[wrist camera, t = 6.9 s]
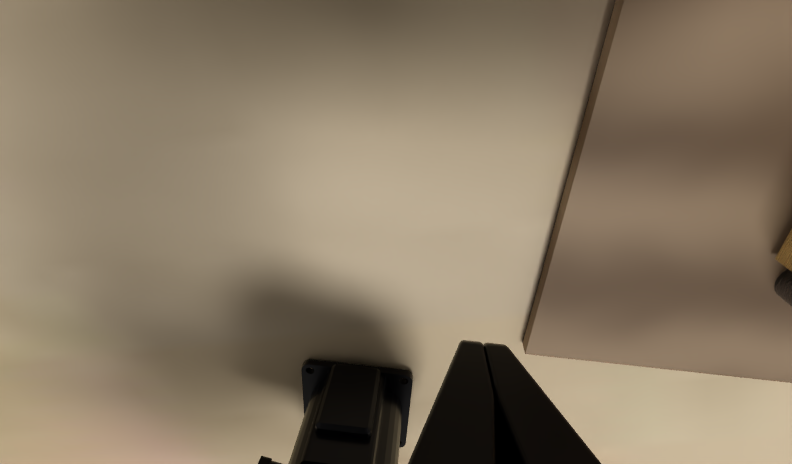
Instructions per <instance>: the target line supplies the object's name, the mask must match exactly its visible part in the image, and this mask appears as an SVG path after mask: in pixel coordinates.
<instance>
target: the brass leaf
mask: <svg viewBox="0 0 792 464" xmlns="http://www.w3.org/2000/svg"><path fill="white" fill-rule="evenodd" d="M775 260H777V261H778V262H779V263H781V264H782V265H783V266H785V267H786V268H788V269H789V270H790V271H792V229H791V231H790V233H789V234H788V236H787V238H786V240H785V242H784V244H783V245H782V247H781V249H780V251H779V253H778V254H777V256H776V258H775Z"/></svg>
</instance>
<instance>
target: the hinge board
mask: <svg viewBox="0 0 792 464" xmlns="http://www.w3.org/2000/svg"><path fill="white" fill-rule="evenodd" d="M791 229H792V0H616V1H615V4H614V8H613V12H612V16H611V19H610V23H609V27H608V30H607V34H606V38H605V41H604V45H603V49H602V52H601V56H600V60H599V63H598V67H597V71H596V75H595V78H594V82H593V86H592V89H591V93H590V97H589V100H588V104H587V108H586V111H585V115H584V119H583V122H582V126H581V130H580V134H579V137H578V141H577V145H576V148H575V152H574V156H573V159H572V163H571V167H570V170H569V174H568V178H567V181H566V185H565V189H564V193H563V196H562V200H561V204H560V207H559V211H558V215H557V218H556V222H555V226H554V229H553V233H552V237H551V240H550V244H549V248H548V251H547V255H546V259H545V263H544V266H543V270H542V274H541V277H540V281H539V285H538V288H537V292H536V296H535V299H534V303H533V307H532V310H531V314H530V318H529V322H528V325H527V329H526V333H525V336H524V340H523V347H524V351H525V354H531V355H540V356H550V357H559V358H568V359H577V360H586V361H596V362H605V363H614V364H623V365H633V366H642V367H651V368H660V369H670V370H679V371H688V372H697V373H706V374H716V375H725V376H734V377H743V378H753V379H762V380H771V381H780V382H790V383H792V307H791V306H790V305H789V304H788V303H786V302H785V301H784V300H783V299H782V298H781V297H779V296H778V295H777V294H776V292H775V289H774V285H775V282H776V280H777V278H778V277H779V276H780V274H781V273H783V272H784V271H785V270H787V269H788V268H786V267H785V266H783V265H782V264H781V263H779V262H778V261H777V260H775V258H776V256H777V254H778V253H779V251H780V249H781V247H782V245H783V244H784V242H785V240H786V238H787V236H788V234H789V233H790V231H791Z"/></svg>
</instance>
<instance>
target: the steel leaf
mask: <svg viewBox="0 0 792 464" xmlns="http://www.w3.org/2000/svg"><path fill="white" fill-rule="evenodd" d="M774 289H775V292H776V294H777V295H778V296H779V297H781V298H782V299H783V300H784V301H785V302H786V303H788V304H789V305H790V306H791V307H792V271H790V270H789V269H787V270H785V271H784V272H783V273H781V274H780V276H779V277H778V278H777V280H776V282H775V285H774Z"/></svg>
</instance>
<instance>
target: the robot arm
mask: <svg viewBox="0 0 792 464" xmlns="http://www.w3.org/2000/svg"><path fill="white" fill-rule="evenodd" d="M311 368H313V369H311ZM402 378H405V379H402ZM412 381H413V375H412V373H411V372H409V371H408V370H402V369H393V368H384V367H375V366H366V365H357V364H348V363H339V362H330V361H321V360H312V359H309V360H306V361H305V362H304V364H303V367H302V384H303V400H304V419H303V422H302V425H301V428H300V431H299V434H298V437H297V440H296V443H295V446H294V449H293V452H292V455H291V458H290V461H289V464H398V457H399V447H403V446H404V445H405V443H406V435H407V426H408V417H409V408H410V399H411V391H412ZM258 464H281V463H278V462H274V461H272V459H271V458H268V457H264V456H261V458H260V460H259V462H258ZM408 464H601V463H600V462H599V460H598V459H597V458H596V457H595V455H594V454H593V453H592V452H591V450H590V449H589V448H588V447H587V445H586V444H585V443H584V442H583V440H582V439H581V438H580V437H579V435H578V434H577V433H576V432H575V430H574V429H573V428H572V427H571V425H570V424H569V423H568V422H567V420H566V419H565V418H564V417H563V415H562V414H561V413H560V412H559V410H558V409H557V408H556V407H555V405H554V404H553V403H552V402H551V400H550V399H549V398H548V397H547V395H546V394H545V393H544V392H543V390H542V389H541V388H540V387H539V385H538V384H537V383H536V382H535V380H534V379H533V378H532V377H531V375H530V374H529V373H528V372H527V370H526V369H525V368H524V367H523V365H522V364H521V363H520V362H519V360H518V359H517V358H516V357H515V355H514V354H513V353H512V352H511V350H510V349H509V348H508V347H507V346H506V345H503V344H494V343H485V344H484V345H483V344H482V343H481V342H475V341H466V340H463V341H461V342H460V343H459V346H458V348H457V350H456V353H455V355H454V357H453V360H452V362H451V364H450V367H449V369H448V371H447V374H446V376H445V379H444V381H443V383H442V386H441V388H440V390H439V393H438V395H437V397H436V400H435V402H434V404H433V407H432V409H431V411H430V414H429V416H428V418H427V421H426V423H425V425H424V428H423V430H422V432H421V435H420V437H419V439H418V442H417V444H416V446H415V449H414V451H413V453H412V456H411V458H410V461H409V463H408Z"/></svg>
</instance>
